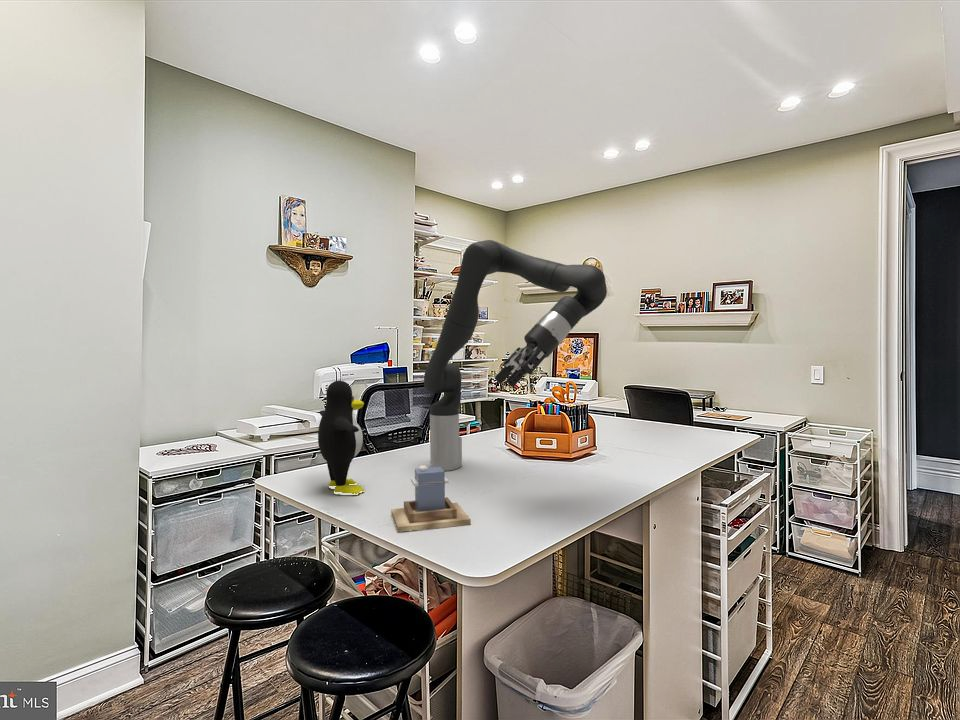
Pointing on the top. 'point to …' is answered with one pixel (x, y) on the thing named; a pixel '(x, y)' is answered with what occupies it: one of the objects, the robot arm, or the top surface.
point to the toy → (340, 435)
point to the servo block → (429, 488)
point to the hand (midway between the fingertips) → (503, 382)
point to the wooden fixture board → (429, 517)
